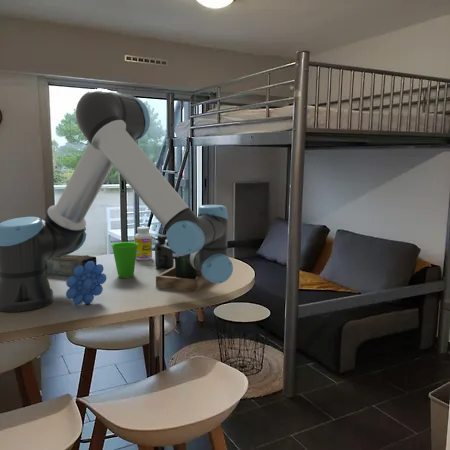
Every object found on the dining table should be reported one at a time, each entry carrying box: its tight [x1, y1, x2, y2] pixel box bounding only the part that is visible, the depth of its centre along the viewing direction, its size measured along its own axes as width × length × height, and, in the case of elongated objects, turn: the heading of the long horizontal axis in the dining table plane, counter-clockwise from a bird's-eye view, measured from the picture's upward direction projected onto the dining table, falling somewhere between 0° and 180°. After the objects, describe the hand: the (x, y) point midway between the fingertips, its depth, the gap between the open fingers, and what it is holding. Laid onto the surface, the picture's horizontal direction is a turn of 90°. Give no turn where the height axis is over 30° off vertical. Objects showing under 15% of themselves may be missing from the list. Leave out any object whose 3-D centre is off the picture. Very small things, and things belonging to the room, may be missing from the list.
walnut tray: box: [155, 265, 211, 293], centre depth 139 cm, size 14×14×4 cm
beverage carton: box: [44, 254, 97, 277], centre depth 151 cm, size 8×19×7 cm, turn 71°
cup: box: [110, 241, 139, 279], centre depth 147 cm, size 9×9×11 cm
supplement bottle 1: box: [134, 226, 153, 262], centre depth 171 cm, size 7×7×13 cm
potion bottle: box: [174, 256, 197, 279], centre depth 137 cm, size 8×8×18 cm
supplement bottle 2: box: [154, 234, 175, 270], centre depth 158 cm, size 7×7×12 cm
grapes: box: [65, 261, 107, 306], centre depth 119 cm, size 12×7×12 cm, turn 132°
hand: (181, 242), depth 141 cm, fingers open, 9 cm apart
